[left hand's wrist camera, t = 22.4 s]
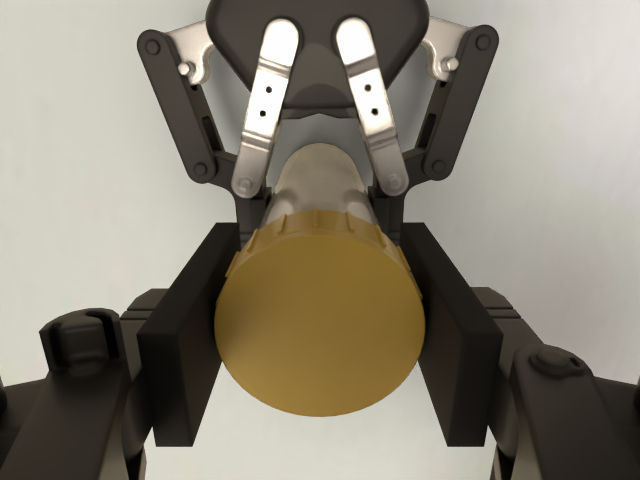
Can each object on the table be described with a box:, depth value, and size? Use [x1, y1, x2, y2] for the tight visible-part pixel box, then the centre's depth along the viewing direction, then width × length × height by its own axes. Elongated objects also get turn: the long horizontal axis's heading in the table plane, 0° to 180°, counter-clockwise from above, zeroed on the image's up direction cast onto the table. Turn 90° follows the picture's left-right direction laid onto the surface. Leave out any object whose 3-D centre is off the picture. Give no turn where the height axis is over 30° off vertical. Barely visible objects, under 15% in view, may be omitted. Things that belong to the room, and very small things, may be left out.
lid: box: [214, 207, 425, 417], centre depth 11 cm, size 5×5×2 cm
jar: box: [258, 143, 382, 232], centre depth 18 cm, size 5×5×15 cm
